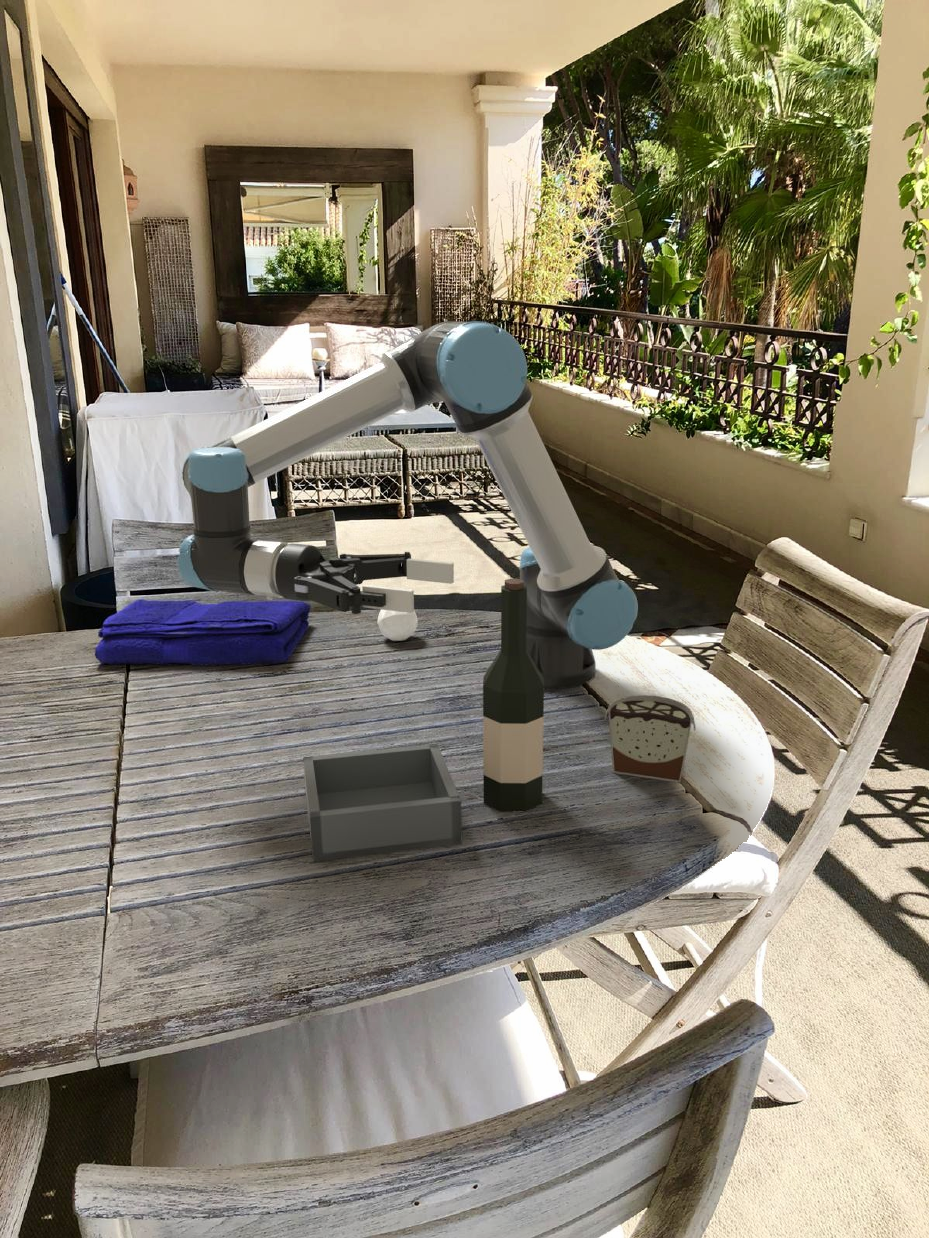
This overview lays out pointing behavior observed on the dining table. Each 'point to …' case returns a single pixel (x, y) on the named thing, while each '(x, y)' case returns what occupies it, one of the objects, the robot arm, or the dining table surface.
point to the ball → (397, 624)
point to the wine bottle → (513, 713)
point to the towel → (203, 632)
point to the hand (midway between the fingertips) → (433, 586)
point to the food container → (649, 736)
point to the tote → (380, 802)
